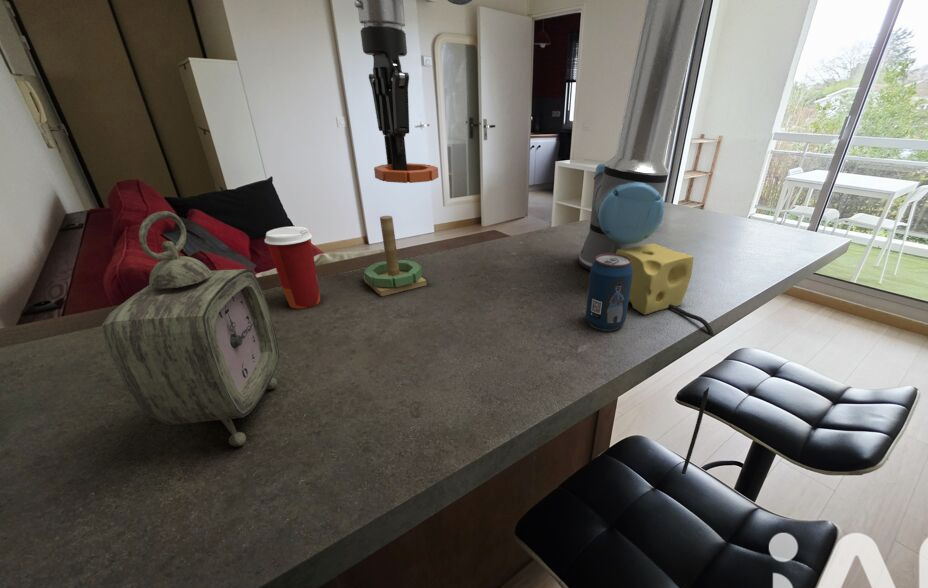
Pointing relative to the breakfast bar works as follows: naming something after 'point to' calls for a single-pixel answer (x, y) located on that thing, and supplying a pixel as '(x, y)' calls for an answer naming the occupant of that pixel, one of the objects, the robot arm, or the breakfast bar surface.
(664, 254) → the cheese
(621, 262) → the soda can
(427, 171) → the terracotta ring
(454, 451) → the breakfast bar surface
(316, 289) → the paper cup
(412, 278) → the green ring
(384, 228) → the post stand
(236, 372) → the tabletop clock
